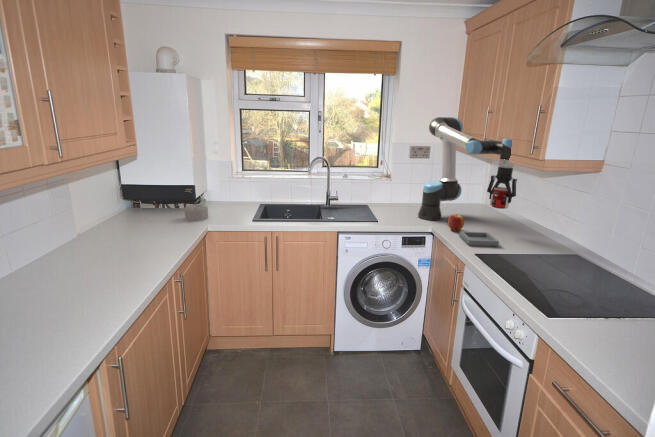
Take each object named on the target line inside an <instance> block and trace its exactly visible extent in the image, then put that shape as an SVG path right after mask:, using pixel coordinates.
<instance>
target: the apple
mask: <svg viewBox="0 0 655 437" xmlns="http://www.w3.org/2000/svg"><path fill="white" fill-rule="evenodd" d="M447 224H448V227H449V228H450V230H452V231H454V232H460V231H462V229H463V227H464V226H465V218H464V217H463V215H459V214H458V213H457V214H454V213H453V214H451V215H449V217H448V220H447Z"/></svg>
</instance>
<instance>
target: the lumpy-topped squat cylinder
mask: <svg viewBox="0 0 655 437" xmlns="http://www.w3.org/2000/svg"><path fill="white" fill-rule="evenodd" d="M208 208H209V207H208V206H207V205H203V204H196V203H193V204H191V205H187V206H185V207H184V217H185V221H186V222H188V223H194V222H203V221H206V220H208V219H209V210H208Z"/></svg>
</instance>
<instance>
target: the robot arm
mask: <svg viewBox="0 0 655 437" xmlns="http://www.w3.org/2000/svg"><path fill="white" fill-rule="evenodd" d="M463 129H464V126H463V122H462V121H461V120H460V119H459V118H456V117H449V116H448V117H443V116H442V117H441V116H440V117H435V118H433V119H432V120H431V121H430V122H429V125H428V131H429V132H430V134H431V135H432V136H434V137H436V138H438V139H439V140H440V141H441V142H442V146H441V149H442V150H441V158H442V159H441V179H440V180H439V181H427V182H425V183H424V185H423V189H422V197H421V198H422V200H421V206H420V208H419V211H418V213H417V217H418V218H419V219H422V220H427V221H441V220H442V217H443V216H442V211H441V202H453V201H455V200H458V199H459V197H460V196H461V194H462V186H461V185H460V183H459V181H458V178H456V166H457V165H456V163H457V159H456V157H457V146H458V147H460V148H462V149H464V150H465V151H466V153H467V154H469V155H475V156H476V155H499V162H498V166H497V173H496V175H494V174H493V175H491V176H490V181H489V184H488V186H487V189H486V192H487V193H489V196H488V197H489V198H488V199H489V200H490V201H489V202H490V203H489V206H492V199H493V193H494V188H497V187H500V186H499V185H500V184H503V185H504V186H505V188H506V189H507V190H508V192H507V193H508V197H507V199H506V205H505V210H506V209H509V205H510V204H511V203H512V198H514V197H516V196H517V181H518V178H513V170H514V168H513V167H514V165H515V163H514V164H512V163H509V162H510V161H509V158H510V156H511V147H512V139H513V138H511V139H508V138H509V137H505V138H503V139H502V140H501V141H500V140H494V139H485V140H480V139H477V138H475V137H473V136H470V135H468V134H467V133H464V132H463ZM504 159H505V160H504ZM495 180H496V182H495ZM510 182H511V184H510ZM494 183H495V184H494Z"/></svg>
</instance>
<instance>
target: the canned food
mask: <svg viewBox="0 0 655 437" xmlns="http://www.w3.org/2000/svg"><path fill="white" fill-rule="evenodd" d="M507 192H508V190H507V189H506V186H505V187H504V186H498V187H497V188H494V193H493V199H492V205H491V207H492V208H496V209H502V210H504V209H505V205H506V199H507V197H508V193H507ZM505 210H506V209H505Z"/></svg>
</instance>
